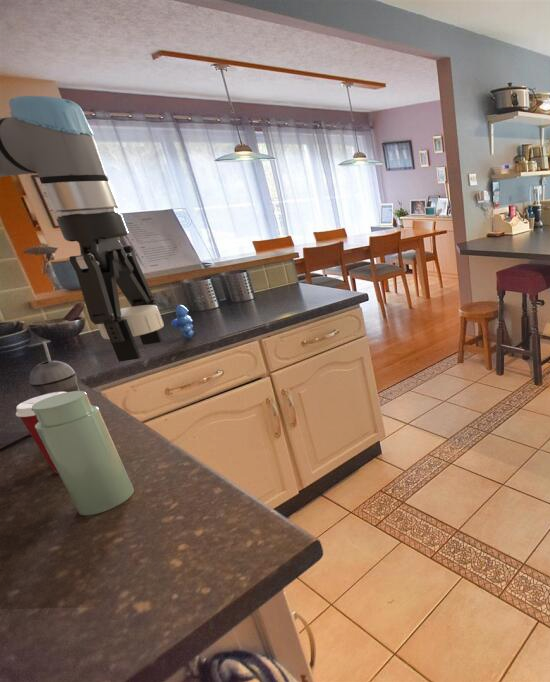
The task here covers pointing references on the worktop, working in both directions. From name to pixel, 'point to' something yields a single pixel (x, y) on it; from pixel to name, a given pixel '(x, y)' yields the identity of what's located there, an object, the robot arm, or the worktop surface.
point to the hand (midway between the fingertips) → (142, 350)
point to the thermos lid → (138, 320)
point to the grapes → (183, 322)
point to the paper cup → (34, 422)
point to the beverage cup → (53, 376)
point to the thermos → (82, 452)
